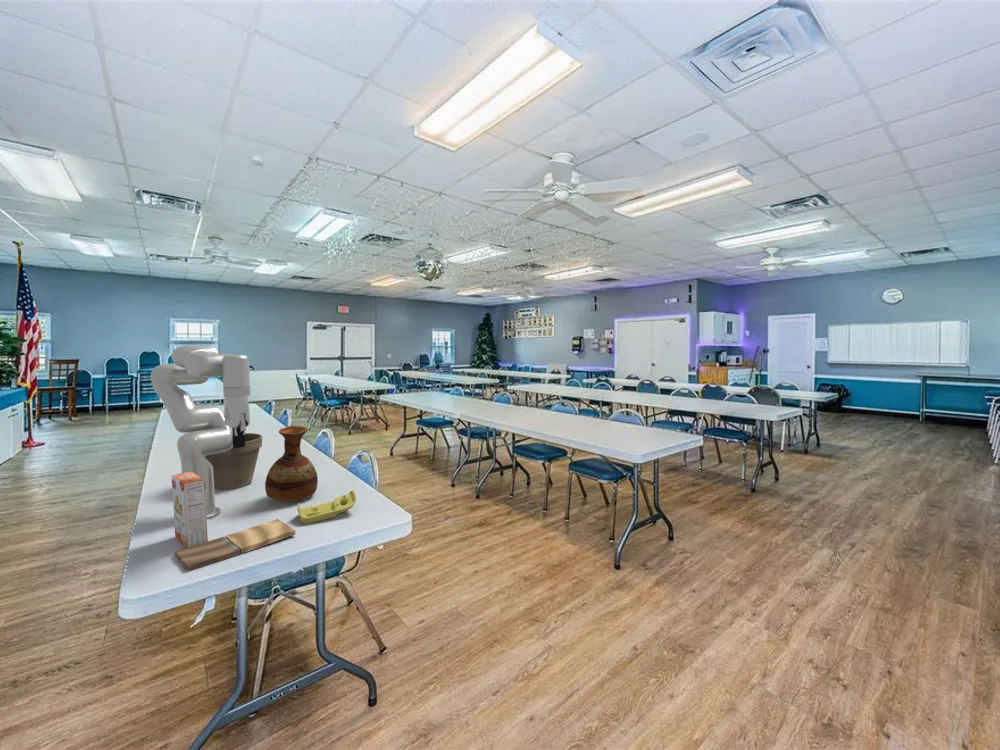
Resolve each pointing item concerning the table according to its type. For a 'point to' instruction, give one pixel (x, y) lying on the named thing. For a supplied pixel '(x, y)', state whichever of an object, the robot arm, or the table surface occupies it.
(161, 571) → the table surface
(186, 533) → the cracker box
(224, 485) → the plant pot
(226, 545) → the walnut board
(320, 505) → the plastic component
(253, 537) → the oak plank
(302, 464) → the ceramic pitcher
